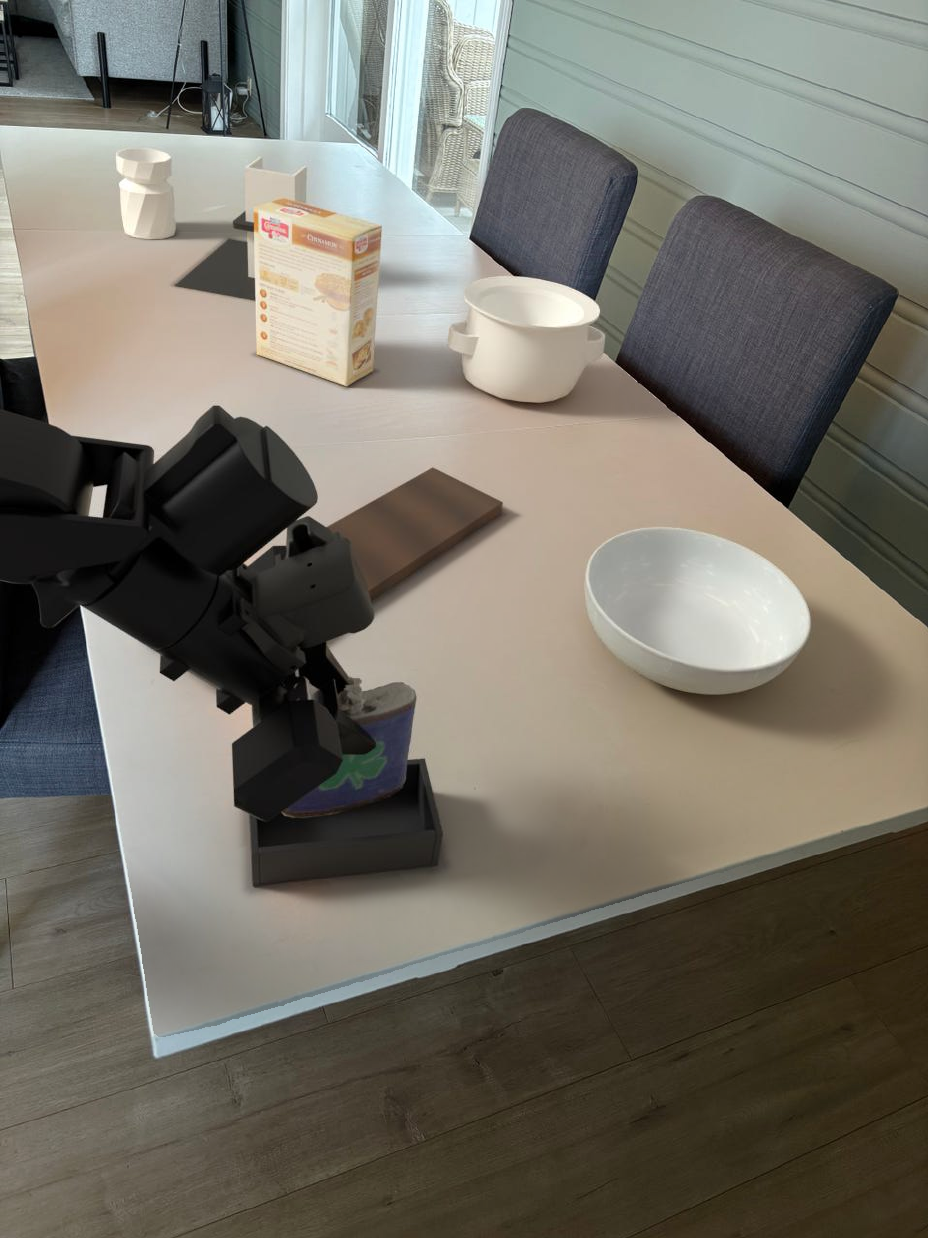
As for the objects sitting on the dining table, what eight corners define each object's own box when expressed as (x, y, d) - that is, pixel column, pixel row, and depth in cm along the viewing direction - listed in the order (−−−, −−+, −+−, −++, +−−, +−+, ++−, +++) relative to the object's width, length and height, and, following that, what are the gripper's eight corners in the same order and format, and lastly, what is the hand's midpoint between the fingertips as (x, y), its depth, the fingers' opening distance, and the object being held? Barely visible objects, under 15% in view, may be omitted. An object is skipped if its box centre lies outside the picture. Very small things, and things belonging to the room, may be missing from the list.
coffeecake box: (374, 370, 126) (384, 224, 114) (346, 388, 121) (353, 237, 109) (285, 339, 130) (285, 195, 118) (254, 355, 125) (251, 205, 113)
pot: (573, 361, 137) (590, 279, 130) (611, 416, 125) (633, 330, 117) (430, 357, 132) (439, 272, 124) (455, 414, 119) (467, 324, 111)
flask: (398, 765, 66) (413, 657, 59) (412, 796, 64) (428, 688, 57) (272, 793, 63) (272, 682, 56) (282, 827, 61) (283, 716, 54)
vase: (130, 240, 153) (122, 162, 145) (117, 223, 158) (109, 147, 151) (182, 238, 156) (177, 162, 149) (168, 221, 162) (163, 147, 154)
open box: (252, 886, 62) (251, 854, 60) (248, 805, 68) (247, 772, 65) (437, 865, 66) (443, 834, 63) (420, 789, 71) (424, 758, 68)
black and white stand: (368, 263, 158) (374, 161, 148) (332, 314, 140) (336, 201, 129) (228, 238, 159) (224, 135, 149) (174, 285, 140) (165, 171, 130)
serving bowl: (534, 598, 91) (546, 542, 87) (703, 567, 99) (722, 514, 95) (645, 748, 77) (667, 689, 73) (831, 697, 85) (861, 642, 81)
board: (229, 695, 76) (229, 683, 75) (150, 639, 80) (148, 626, 79) (501, 513, 102) (503, 502, 101) (431, 478, 106) (432, 466, 105)
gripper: (303, 635, 41) (498, 775, 51) (277, 431, 55) (435, 572, 65) (135, 764, 44) (350, 873, 54) (150, 540, 58) (319, 659, 68)
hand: (367, 729), depth 60 cm, fingers closed on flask, 3 cm apart
